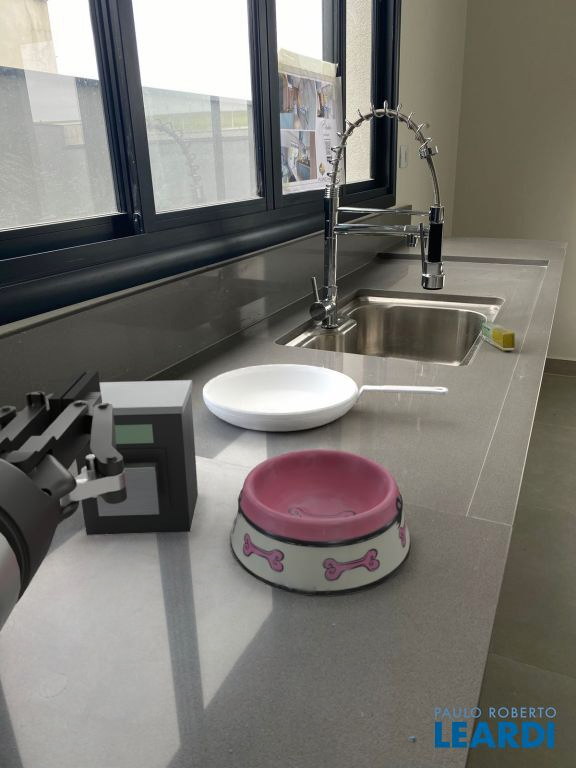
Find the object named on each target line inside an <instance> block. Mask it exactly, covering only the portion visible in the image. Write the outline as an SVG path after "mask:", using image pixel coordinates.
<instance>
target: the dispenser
mask: <svg viewBox="0 0 576 768" xmlns="http://www.w3.org/2000/svg"><path fill="white" fill-rule="evenodd" d="M99 382H100V381H99ZM192 389H193V380H192V379H187V380H185V379H183V380H181V379H179V380H145V381H137V380H136V381H102V382H100V391H101V396H102V403H110V404H112V406H113V414H114V423H115V432H116V451H117V452H119V453H120V454H121V455H122V457H123V463H148V462H157V468H158V479H159V490H160V501H161V510H160V513H159V514H151V515H119V516H99V512H98V505H97V497H96V498H93V497H90V498H87V499H84V500H81V507H82V514H83V520H84V521H83V522H84V529H85V535H86V536H104V535H105V536H107V535H136V534H137V535H140V534H141V535H142V534H169V533H170V534H171V533H173V534H174V533H191V530H192V525H193V522H194V521H193V520H194V517H195V513H196V511H195V510H196V507H197V503H198V502H197V501H198V497H199V487H198V475H197V474H198V473H197V460H196V444H195V432H194V431H195V430H194V415H193V401H192ZM90 454H91V453H90V445H89V446H85V447H84V448H83V449H82V451H81V452H80V454H79V455H78V456H77V458H76V459H75V465H76V470H77V476H78V475H80V473H81V469H82V468H83V467H85V466H86V462H85V457H86V456H87V455H90Z"/></svg>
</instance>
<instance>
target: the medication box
mask: <svg viewBox="0 0 576 768" xmlns="http://www.w3.org/2000/svg"><path fill="white" fill-rule="evenodd" d="M482 335H484V336H486V337H488V338H489V339H491V340H492V341H494V342H496V343H497V344H498V345H500V346H501V347H503V348H514V347H515V348H516V338H515V337H516V335H515V332H514V331H512V330H510V329H508V328H506V327H503V326H502V325H499V324H498V323H495V322H493V321H485V322H481V338H482V340H484V341H486V342H488V343H489V344H491V345H492V346H494V347H496V348H498V349H499V350H502V351H503V352H509V351H511V350H503V349H501V348H499V347H498V346H496V345H494V344H493V343H491V342H489V341H488V340H486V339H484V338H483V337H482Z"/></svg>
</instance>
